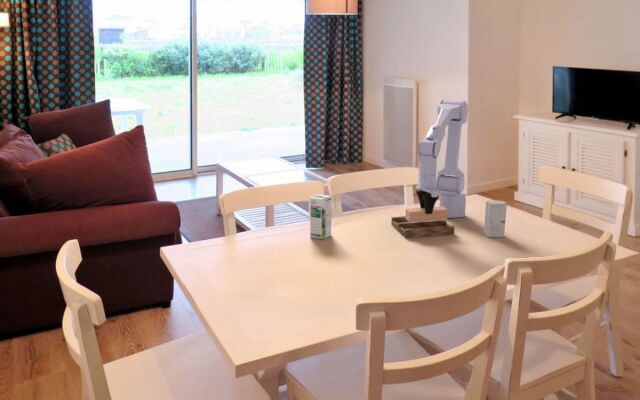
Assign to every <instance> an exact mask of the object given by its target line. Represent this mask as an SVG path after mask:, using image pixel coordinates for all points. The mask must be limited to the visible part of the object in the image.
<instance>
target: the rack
mask: <svg viewBox="0 0 640 400" xmlns="http://www.w3.org/2000/svg"><path fill="white" fill-rule="evenodd" d="M405 217H406V215H401V216H391V226H392V227H393V228H394V229H396V230H397V232H398V233H400V234H401V236H403V237H404V238H405V239H411V238H413V239H414V238H423V237H424V238H425V237H437V236H449V235H455V225H453V224H452V225H450V224H449V223H448V222H447V220H448V219H443V220H428V221H413V222H409V221H408V220H407V219H406V218H405Z"/></svg>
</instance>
